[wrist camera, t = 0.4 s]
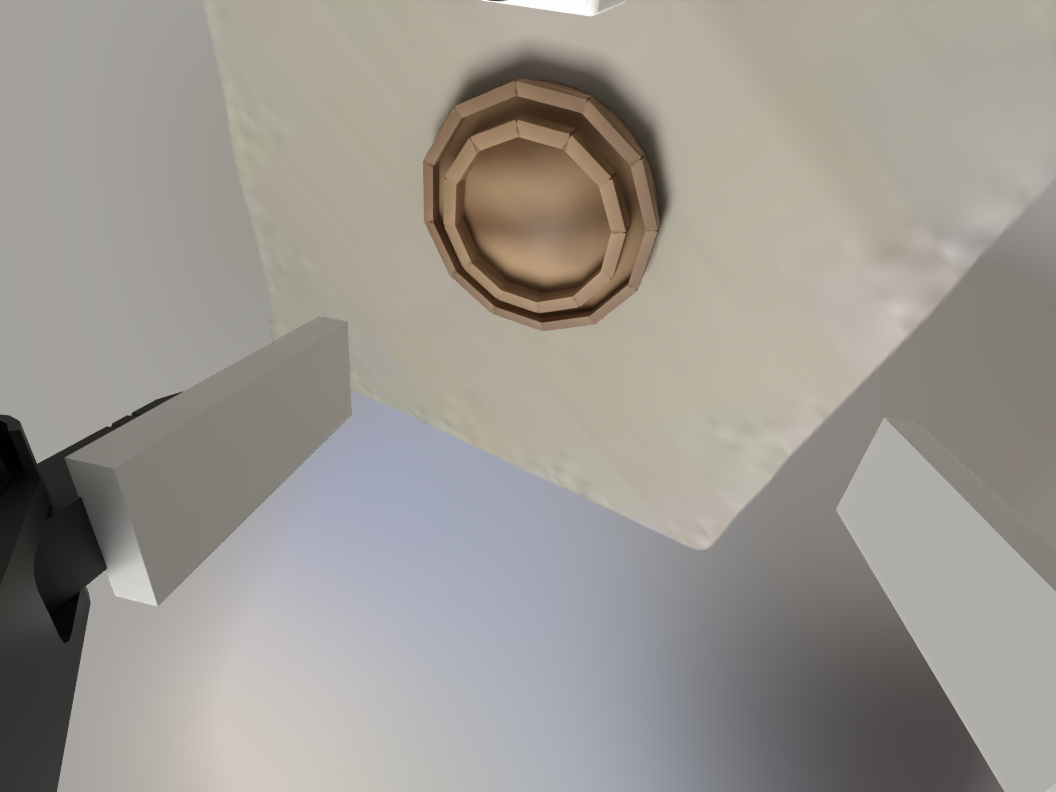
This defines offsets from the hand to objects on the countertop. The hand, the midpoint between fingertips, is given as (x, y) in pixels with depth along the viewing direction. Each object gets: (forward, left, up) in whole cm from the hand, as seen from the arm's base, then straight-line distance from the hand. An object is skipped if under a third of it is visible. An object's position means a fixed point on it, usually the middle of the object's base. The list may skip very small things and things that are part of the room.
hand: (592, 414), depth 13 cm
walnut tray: (+2, -13, -27) cm, 30 cm away
